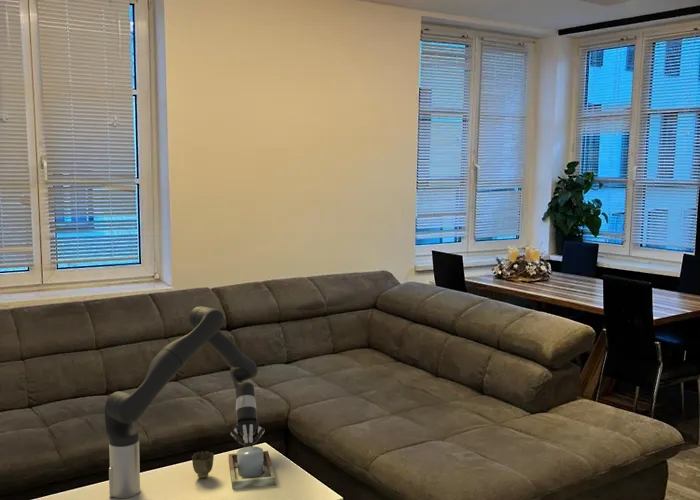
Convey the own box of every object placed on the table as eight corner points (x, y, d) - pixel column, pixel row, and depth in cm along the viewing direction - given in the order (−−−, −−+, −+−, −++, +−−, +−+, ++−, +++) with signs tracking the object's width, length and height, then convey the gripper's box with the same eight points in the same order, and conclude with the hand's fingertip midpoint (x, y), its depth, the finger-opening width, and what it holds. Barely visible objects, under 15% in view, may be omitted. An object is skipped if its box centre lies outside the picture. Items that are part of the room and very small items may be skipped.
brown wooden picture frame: (232, 488, 224) (232, 481, 224) (228, 460, 246) (228, 454, 246) (275, 484, 227) (275, 477, 227) (268, 457, 250) (267, 450, 249)
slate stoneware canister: (240, 479, 231) (239, 458, 230) (236, 469, 240) (235, 448, 239) (266, 475, 234) (265, 454, 233) (260, 464, 243) (260, 444, 242)
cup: (208, 483, 228) (208, 460, 227) (188, 480, 230) (188, 458, 229) (217, 473, 236) (217, 451, 235) (197, 471, 237) (197, 449, 236)
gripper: (228, 406, 249) (230, 451, 238) (264, 404, 252) (268, 448, 242) (228, 415, 255) (230, 460, 244) (263, 413, 258) (266, 457, 247)
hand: (249, 454), depth 243 cm, fingers closed
